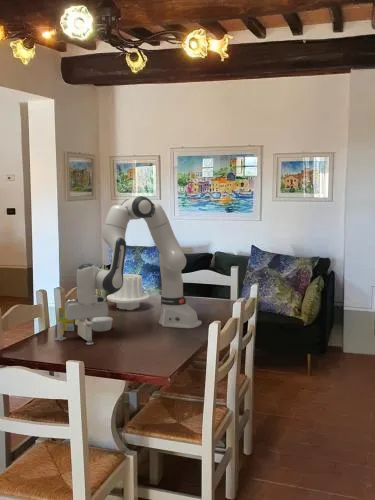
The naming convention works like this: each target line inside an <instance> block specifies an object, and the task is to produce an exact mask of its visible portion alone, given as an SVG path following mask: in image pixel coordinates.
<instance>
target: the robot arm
mask: <svg viewBox="0 0 375 500" xmlns="http://www.w3.org/2000/svg"><path fill="white" fill-rule="evenodd" d="M141 219H143V220H144V221H145V223H146V225H147V228H148V230H149V233H150V236H151V237H152V240H153V243H154V245H155V246H156V249H157V251H158V252H159V254H158V261H159V270H160V271H159V272H160V280H161V297H160V306H161V309H160V310H161V311H160V316H159V321H158V324H159V325H161V326H162V327H165V328H180V329H194V328H198V327H200V326H201V325H202V323H203V322H202V320H201V319H198V314H197V312H196V310H195V309H194V308H192V307H191V306H190V305H189V304H188V303H187V301H188V297H185V295H184V280H183V275H182V270H184V269H185V267H186V265H187V258H186V256H185V253H184V252H183V249H182V247H181V245H180V243H179V242H178V241H179V240H178V239H177V237H176V236H175V233H174V230H173V229H172V225H171V223H170V220H169V218H168V215H167V213H166V212H165V210H164V209H163V207H162V205H161V204H159V203H157V202H155V203H153V202H152V200H151V199H150V198H148V197H146V196H142V195H141V196H132V197H130V198H126V200H123V202H122V203H121V204H114V205H113V206H111V207H110V209H109V210H108V212H107V215H106V218H105V221H104V223H103V227H102V232H101V237H102V239H103V241H104V242H105V244H106V245H108V246H109V247H110V248H111V250H112V256H111V261H110V262H111V263H110V268H109V270H108V269H103V268H100V267H97V266H95V265H94V264H93V263H84V264H81V265H79V266H78V268H77V270H76V286H77V289H76V299H74V298H73V299H68V300H66V301H65V302H64V308H65V309H64V310H65V318H66V319H67V320H74V319H75V320H76V319H81V320H82V321H83V322H85V318H87V319H88V321H89V322H92V320H93V318H95V317H108V315H109V305H108V303H107V302H106V301H107V297H105V295H103V294H97V291H96V290H101V291H105V292H108V293H111V294H114V293H115V292H117V291H119V290H120V289H121V287H122V285H123V274H124V269H125V268H124V267H125V260H126V253H127V242H126V232H127V228H128V224H129V222H130V221H131V220H141Z"/></svg>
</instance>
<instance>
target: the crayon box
mask: <svg viewBox="0 0 375 500" xmlns="http://www.w3.org/2000/svg"><path fill="white" fill-rule="evenodd" d="M65 310H66V309H65V307H59V308H58V322H63V328H64V332H66V331H67V332H74V331H75V330H76V325H75V320H76V319H74V320H67V319H66V318H65Z"/></svg>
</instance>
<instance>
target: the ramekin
mask: <svg viewBox="0 0 375 500" xmlns="http://www.w3.org/2000/svg"><path fill="white" fill-rule="evenodd" d="M113 321H114V319H113V317H109V316H104V317H94V318H93V320H92V322H93V325H92V331H93V332H107V331H110V330H111V329H112V324H113Z"/></svg>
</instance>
